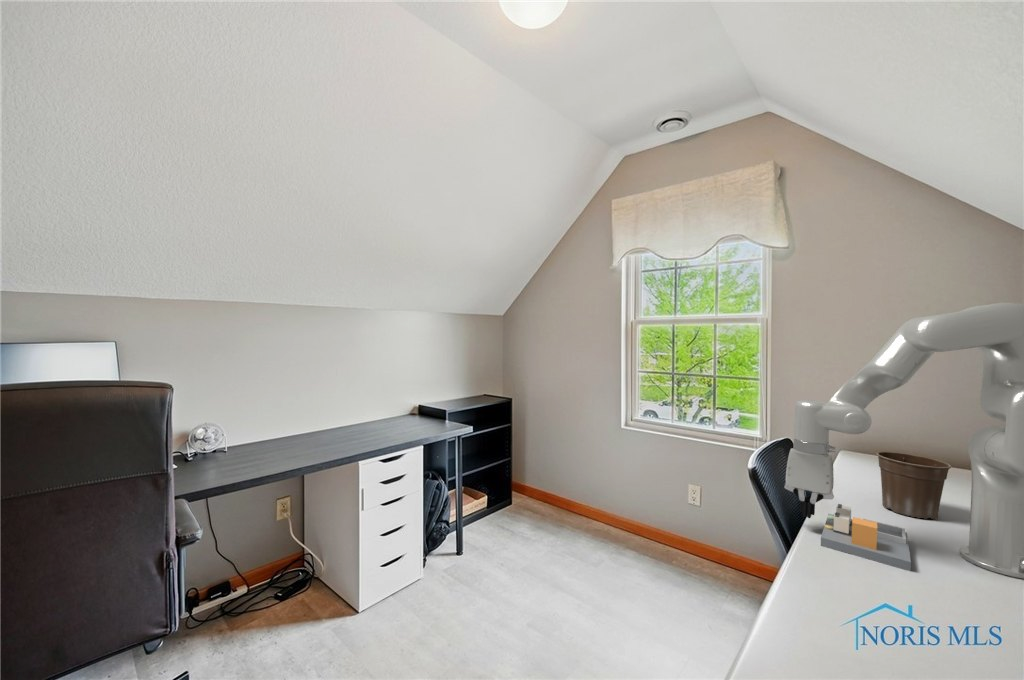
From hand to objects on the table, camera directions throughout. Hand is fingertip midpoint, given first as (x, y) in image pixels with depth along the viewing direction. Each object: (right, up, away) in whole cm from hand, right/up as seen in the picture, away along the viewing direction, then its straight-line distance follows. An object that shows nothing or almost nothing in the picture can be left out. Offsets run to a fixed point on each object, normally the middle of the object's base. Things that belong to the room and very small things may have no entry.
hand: (807, 516), depth 111 cm
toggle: (+11, -2, +1) cm, 11 cm away
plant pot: (+42, -5, +15) cm, 45 cm away
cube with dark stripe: (+5, -2, -5) cm, 7 cm away
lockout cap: (+6, -2, -11) cm, 13 cm away
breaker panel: (+10, -4, -6) cm, 12 cm away
